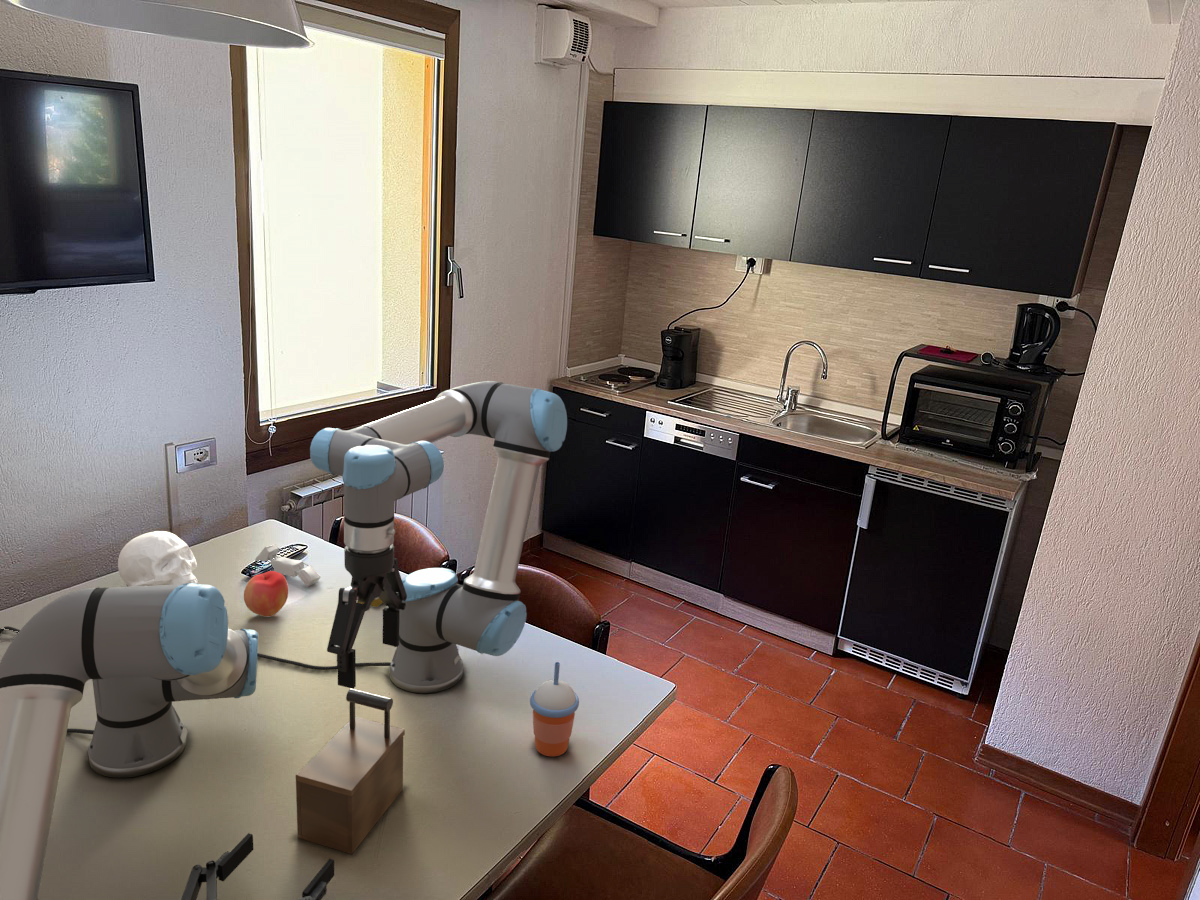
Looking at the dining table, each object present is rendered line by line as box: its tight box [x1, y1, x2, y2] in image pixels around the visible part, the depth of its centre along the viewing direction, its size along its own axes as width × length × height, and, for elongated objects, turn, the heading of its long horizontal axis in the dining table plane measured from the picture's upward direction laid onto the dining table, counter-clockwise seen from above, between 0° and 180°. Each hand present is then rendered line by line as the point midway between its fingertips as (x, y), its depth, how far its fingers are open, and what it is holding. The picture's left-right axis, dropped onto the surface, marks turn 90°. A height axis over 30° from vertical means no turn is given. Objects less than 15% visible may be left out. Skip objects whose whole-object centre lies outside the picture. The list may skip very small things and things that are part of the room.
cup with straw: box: [529, 661, 580, 757], centre depth 159 cm, size 9×9×18 cm
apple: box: [243, 570, 289, 618], centre depth 199 cm, size 10×10×10 cm
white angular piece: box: [254, 544, 322, 587], centre depth 219 cm, size 20×4×7 cm, turn 62°
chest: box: [295, 736, 404, 855], centre depth 140 cm, size 16×10×11 cm, turn 164°
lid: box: [295, 688, 406, 797], centre depth 137 cm, size 17×10×8 cm, turn 164°
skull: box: [117, 530, 199, 587], centre depth 203 cm, size 13×22×16 cm, turn 73°
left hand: (291, 853), depth 124 cm, fingers open, 13 cm apart
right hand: (369, 664), depth 139 cm, fingers open, 13 cm apart
